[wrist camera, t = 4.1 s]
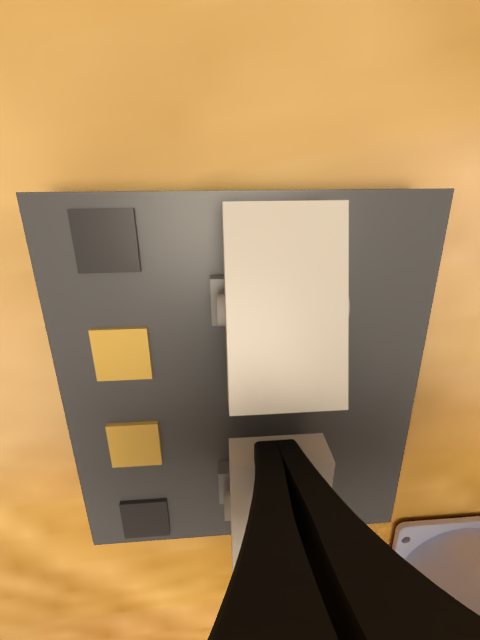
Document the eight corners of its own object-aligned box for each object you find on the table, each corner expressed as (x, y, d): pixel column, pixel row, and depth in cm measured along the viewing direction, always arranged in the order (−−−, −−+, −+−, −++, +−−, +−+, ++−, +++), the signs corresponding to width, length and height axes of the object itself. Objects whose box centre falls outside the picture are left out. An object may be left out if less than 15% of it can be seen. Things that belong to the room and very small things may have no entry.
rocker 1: (338, 393, 11) (356, 409, 10) (220, 399, 11) (220, 416, 9) (337, 212, 11) (357, 200, 9) (214, 214, 10) (213, 201, 9)
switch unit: (367, 481, 18) (398, 535, 15) (110, 498, 17) (88, 560, 14) (411, 191, 13) (469, 187, 10) (53, 195, 12) (1, 191, 9)
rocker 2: (315, 536, 15) (325, 573, 13) (225, 543, 14) (226, 581, 13) (328, 430, 12) (342, 462, 11) (221, 436, 12) (222, 469, 11)
